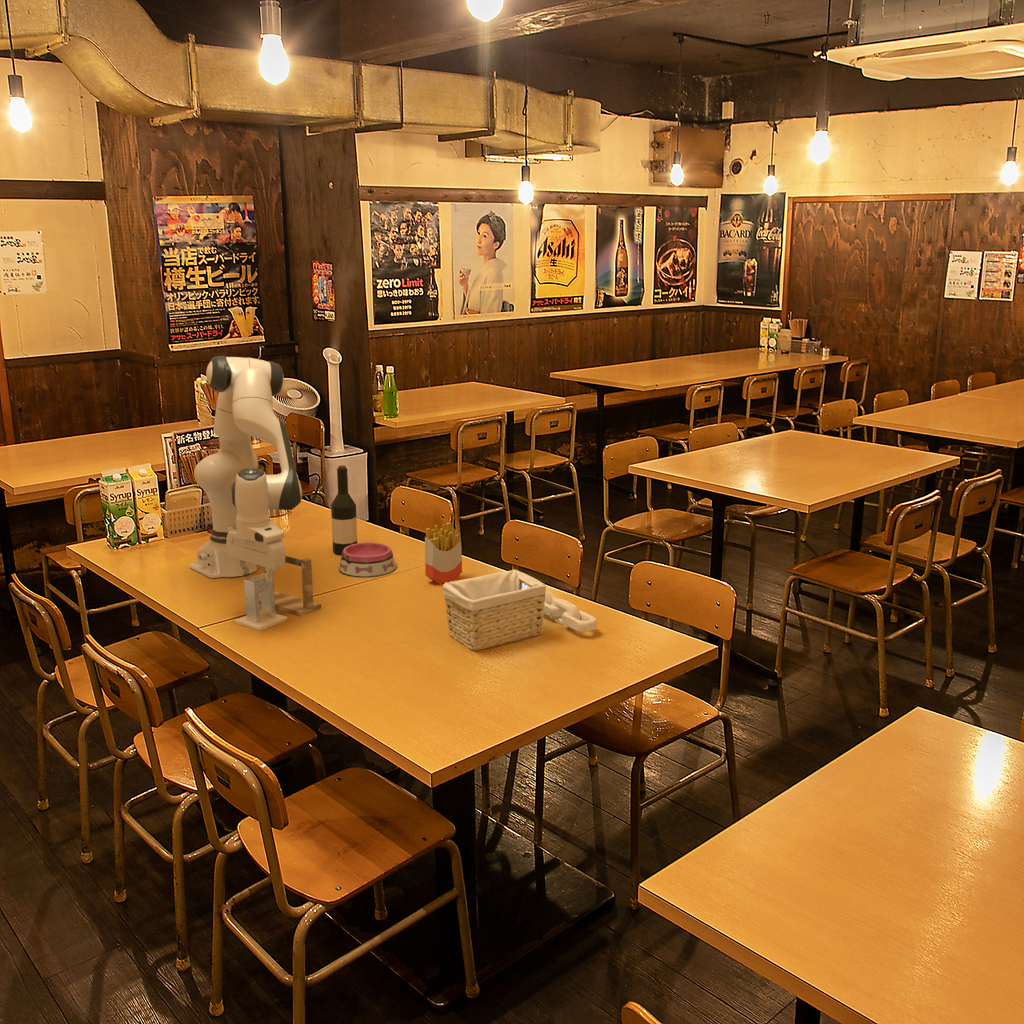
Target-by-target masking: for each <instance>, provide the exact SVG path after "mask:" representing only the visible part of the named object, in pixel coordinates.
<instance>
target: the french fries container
mask: <svg viewBox="0 0 1024 1024" xmlns="http://www.w3.org/2000/svg"><path fill="white" fill-rule="evenodd" d="M441 526H442V527H441V528H438V527H439V526H438V525H437V524H435V525H434V528H432V529H431V528H429V527H427V528H425V536H424V555H425V556H424V558H425V559H424V561H425V564H424V565H425V567H424V569H425V571H424V572H425V576H426V577H427V578H428V579H429V580H431V581H433V582H434V583H436V584H438V585H440V584H441V585H443V584H442V583H445V582H450V581H454V580H455V581H457V579H458V578H459V577H460V575H461V574H462V573H463V556H462V543H461V537H460V534H459V532H458V529H457V530H456V529H455V528H452V523H451V521H450V522H446V523H442V524H441Z"/></svg>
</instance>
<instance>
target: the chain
mask: <svg viewBox="0 0 1024 1024" xmlns="http://www.w3.org/2000/svg"><path fill="white" fill-rule="evenodd" d="M527 588H531V587H529V586H527ZM527 588H526V589H527ZM545 596H546V597H545V601H544V602H545V604H544V614H543V615H546V616H548V617H551V618H552V619H553V620H556V621H557V622H559V623H562V624H564V625H566V626H567V627H570V628H569V629H572V630H574V631H576V632H579V633H589V632H593V631H595V630H596V628H597V627H598V620H597V618H596V617H595V616H593V615H591V614H589V613H587V612H585V611H584V610H579V608H578V606H577V605H575V604H573V603H571V602H570V601H568V600H566V599H563V598H557V597H555V596H552V595H551V593H550V592H549V591H547V590H546V594H545ZM557 622H556V623H557ZM559 623H558V624H559ZM567 627H566V628H567Z"/></svg>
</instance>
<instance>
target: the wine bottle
mask: <svg viewBox="0 0 1024 1024" xmlns="http://www.w3.org/2000/svg"><path fill="white" fill-rule="evenodd" d="M337 467H338V468H336V473H337V474H336V475H337V476H336V477H337V478H336V479H337V494H336V495H335V498H334V499H333V501H332V502H331V505H330V510H331V511H330V512H331V514H330V515H331V533H332V534H331V535H332V536H331V537H332V552H333V554H334V555H335V556H341V555H342V553H343V550H344V548H345V547H347V546H349V545H352V544H356V543H358V527H357V526H358V525H357V521H358V520H357V504H356V503H355V501H354V500H353V498H352V497H351V495H350V493H349V482H348V481H349V479H348V468H347V466H346V465H338V466H337ZM341 557H342V556H341Z"/></svg>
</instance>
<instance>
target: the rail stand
mask: <svg viewBox="0 0 1024 1024" xmlns="http://www.w3.org/2000/svg"><path fill="white" fill-rule="evenodd" d="M286 563H287V564H290V565H294V566H298V567H300V568H301V584H302V585H301V587H302V598H300V597H298V596H294V595H291V594H290V595H289V594H286V593H284V592H280V591H276V592H275V591H274V598H275V610H279V611H282V612H285V613H288V614H292V615H296V616H298V617H302V616H305V615H308V614H310V613H313V612H315V611H318V610H321V609H322V603H318V602H316V601H315V602H314V591H313V590H314V586H313V569H312V567H313V566H312V559H311V558H308V557H306V558H302V559H300V558H295V557H290V556H287V555H285V564H286ZM266 572H267V571H266V570H265V567H263V566H262V573H266ZM272 575H273V581H274V582H275V577H274V573H273V574H272ZM259 605H261V597H259Z"/></svg>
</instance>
